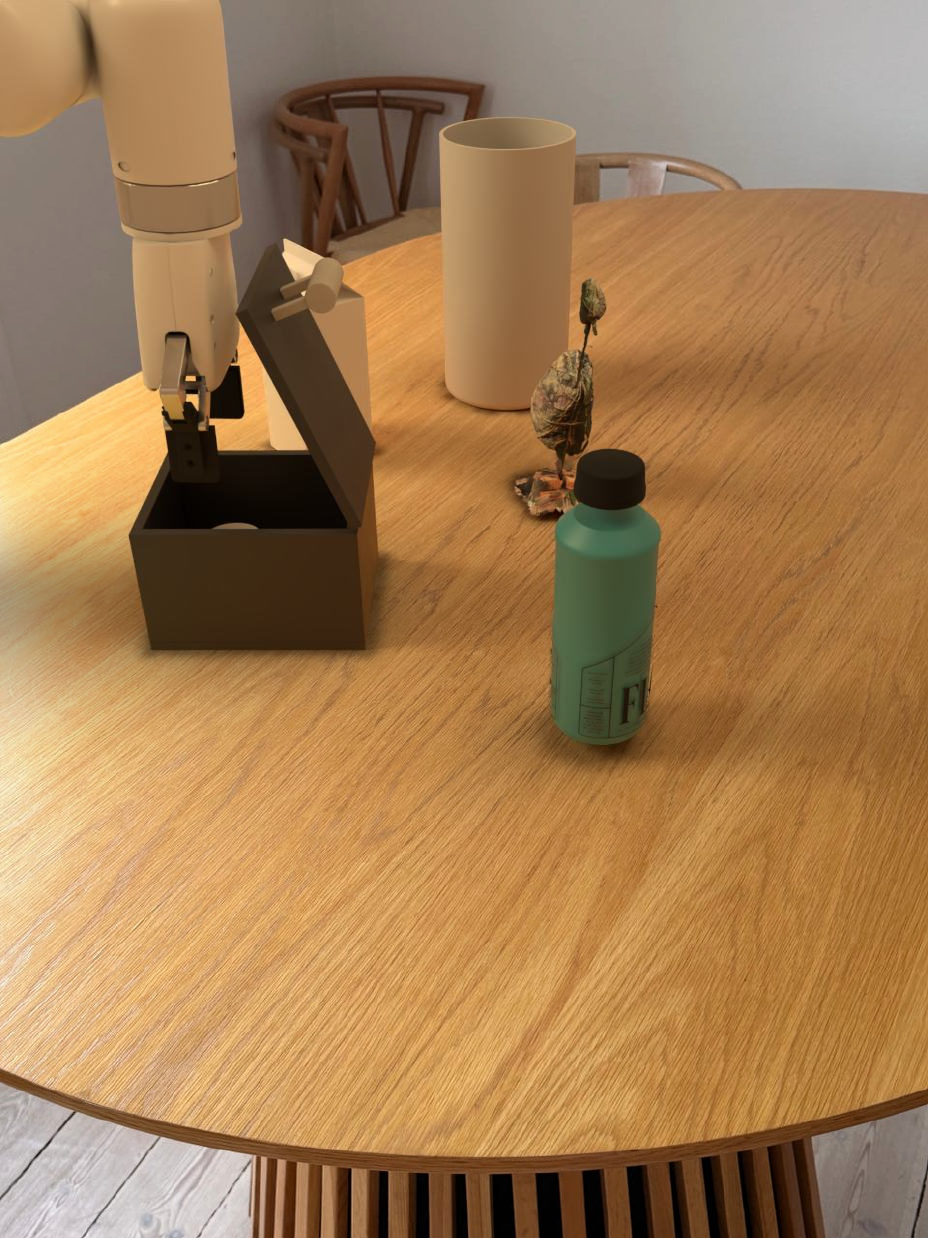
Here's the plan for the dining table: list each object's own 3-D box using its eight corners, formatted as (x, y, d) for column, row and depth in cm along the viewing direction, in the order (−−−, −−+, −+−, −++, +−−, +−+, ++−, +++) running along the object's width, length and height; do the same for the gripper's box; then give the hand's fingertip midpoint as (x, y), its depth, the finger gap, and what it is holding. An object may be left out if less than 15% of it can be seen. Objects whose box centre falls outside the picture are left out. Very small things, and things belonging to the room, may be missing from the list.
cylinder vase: (458, 418, 119) (453, 153, 105) (435, 369, 129) (428, 121, 115) (581, 406, 121) (592, 144, 107) (549, 358, 131) (556, 113, 117)
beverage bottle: (623, 777, 76) (646, 498, 65) (528, 745, 79) (534, 471, 68) (661, 719, 81) (689, 449, 70) (571, 690, 84) (583, 425, 72)
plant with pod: (610, 466, 111) (623, 247, 99) (600, 528, 102) (613, 295, 90) (522, 459, 112) (525, 243, 100) (504, 521, 103) (505, 290, 91)
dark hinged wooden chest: (151, 651, 88) (128, 534, 82) (186, 559, 98) (168, 450, 93) (365, 651, 88) (357, 534, 82) (378, 558, 98) (371, 449, 92)
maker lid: (234, 313, 73) (311, 281, 72) (266, 246, 84) (333, 218, 83) (351, 530, 82) (421, 505, 81) (366, 445, 92) (429, 422, 91)
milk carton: (334, 426, 118) (319, 230, 107) (374, 453, 113) (362, 250, 103) (270, 446, 115) (247, 246, 104) (308, 475, 110) (288, 268, 99)
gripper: (151, 163, 83) (182, 395, 93) (81, 243, 69) (127, 507, 79) (260, 164, 83) (280, 396, 93) (213, 245, 69) (243, 509, 78)
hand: (210, 447), depth 86 cm, fingers open, 9 cm apart
